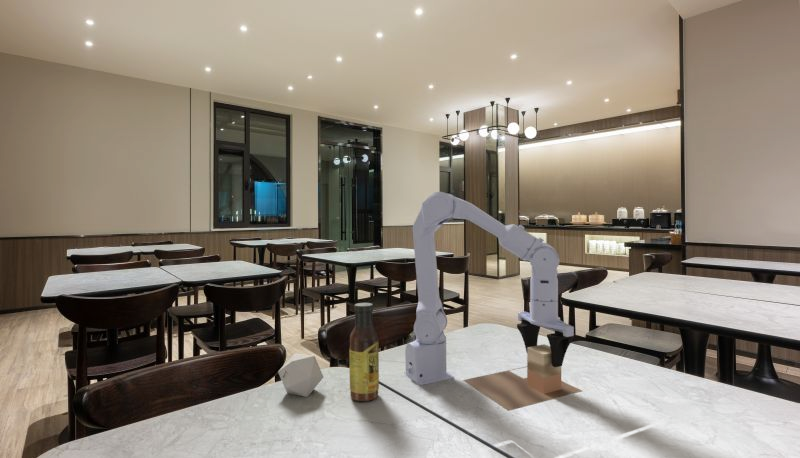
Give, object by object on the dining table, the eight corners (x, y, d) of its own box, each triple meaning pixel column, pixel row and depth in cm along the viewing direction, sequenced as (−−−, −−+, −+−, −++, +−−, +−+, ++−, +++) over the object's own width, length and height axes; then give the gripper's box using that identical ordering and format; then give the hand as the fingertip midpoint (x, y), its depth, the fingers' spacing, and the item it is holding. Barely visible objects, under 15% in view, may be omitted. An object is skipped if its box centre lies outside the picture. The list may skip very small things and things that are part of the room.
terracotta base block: (543, 393, 85) (543, 377, 85) (527, 384, 89) (527, 369, 89) (561, 389, 87) (561, 373, 87) (544, 380, 91) (544, 365, 91)
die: (285, 387, 92) (266, 362, 87) (318, 362, 96) (302, 337, 90) (299, 413, 86) (280, 388, 80) (334, 386, 89) (318, 360, 84)
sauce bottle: (374, 404, 82) (373, 308, 81) (345, 402, 83) (344, 307, 82) (382, 390, 88) (381, 301, 88) (355, 388, 90) (354, 300, 89)
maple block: (543, 377, 85) (543, 354, 85) (527, 369, 89) (527, 347, 89) (561, 373, 87) (561, 350, 87) (544, 365, 91) (544, 344, 91)
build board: (508, 412, 78) (508, 409, 78) (462, 381, 92) (462, 379, 92) (582, 392, 86) (582, 390, 86) (529, 367, 101) (529, 365, 101)
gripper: (584, 303, 82) (584, 368, 83) (534, 291, 96) (534, 347, 96) (559, 307, 80) (559, 374, 80) (510, 294, 93) (511, 352, 93)
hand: (544, 360), depth 88 cm, fingers open, 7 cm apart
